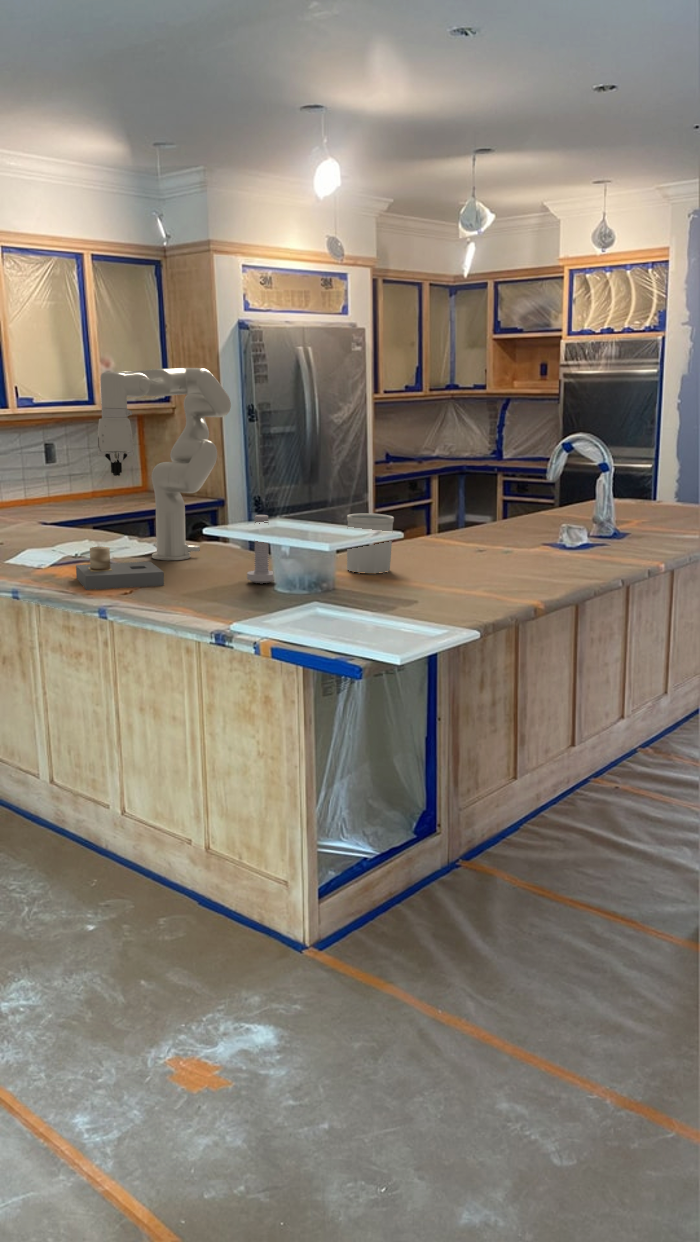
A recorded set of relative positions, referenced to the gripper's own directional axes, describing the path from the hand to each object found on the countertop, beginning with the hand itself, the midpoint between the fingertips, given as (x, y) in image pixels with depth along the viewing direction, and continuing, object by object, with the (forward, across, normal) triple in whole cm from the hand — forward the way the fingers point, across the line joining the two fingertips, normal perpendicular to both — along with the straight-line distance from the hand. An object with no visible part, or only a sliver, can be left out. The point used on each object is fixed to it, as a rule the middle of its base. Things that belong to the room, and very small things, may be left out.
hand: (116, 475), depth 308 cm
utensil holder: (+29, -74, +26) cm, 84 cm away
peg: (+28, +9, +21) cm, 37 cm away
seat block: (+29, +4, +21) cm, 36 cm away
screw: (+29, -35, +35) cm, 58 cm away
